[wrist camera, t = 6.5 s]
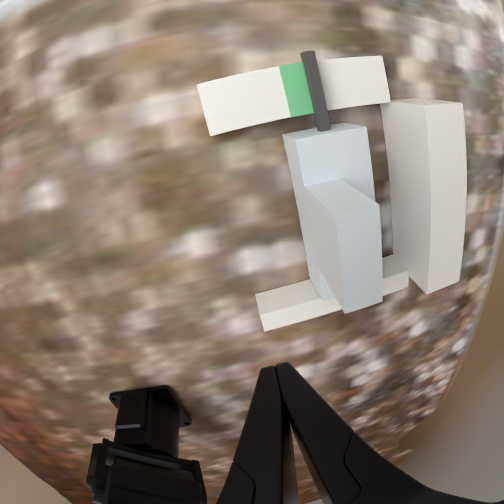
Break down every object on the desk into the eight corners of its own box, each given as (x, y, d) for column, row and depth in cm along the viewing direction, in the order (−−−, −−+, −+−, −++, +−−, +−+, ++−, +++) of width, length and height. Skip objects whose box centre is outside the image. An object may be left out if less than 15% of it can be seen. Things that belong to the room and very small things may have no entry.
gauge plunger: (361, 262, 22) (412, 325, 16) (309, 277, 22) (346, 349, 16) (330, 52, 16) (395, 30, 9) (265, 61, 16) (299, 35, 9)
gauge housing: (422, 260, 24) (457, 292, 19) (259, 310, 24) (270, 356, 19) (407, 57, 16) (454, 52, 12) (197, 86, 16) (192, 79, 12)
